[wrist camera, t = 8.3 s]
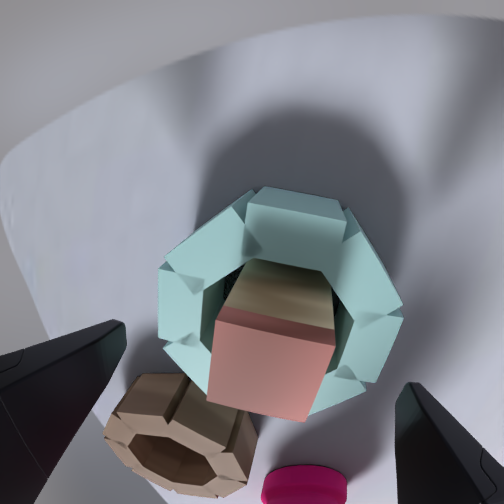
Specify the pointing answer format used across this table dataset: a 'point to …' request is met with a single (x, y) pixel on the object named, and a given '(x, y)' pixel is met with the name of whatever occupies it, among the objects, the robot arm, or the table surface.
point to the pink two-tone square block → (272, 341)
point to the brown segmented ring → (182, 437)
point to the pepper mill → (304, 486)
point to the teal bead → (291, 253)
